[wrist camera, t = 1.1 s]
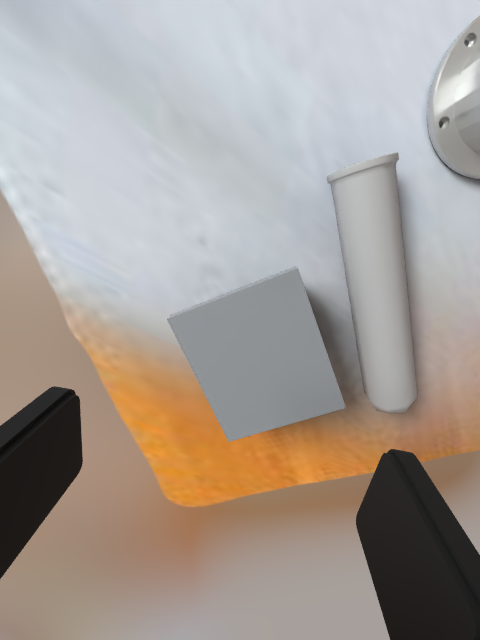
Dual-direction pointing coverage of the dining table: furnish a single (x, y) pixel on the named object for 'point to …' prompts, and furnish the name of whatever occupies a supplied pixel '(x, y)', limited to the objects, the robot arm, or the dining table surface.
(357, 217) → the tube
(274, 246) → the dining table surface
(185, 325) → the slab
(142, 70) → the dining table surface
